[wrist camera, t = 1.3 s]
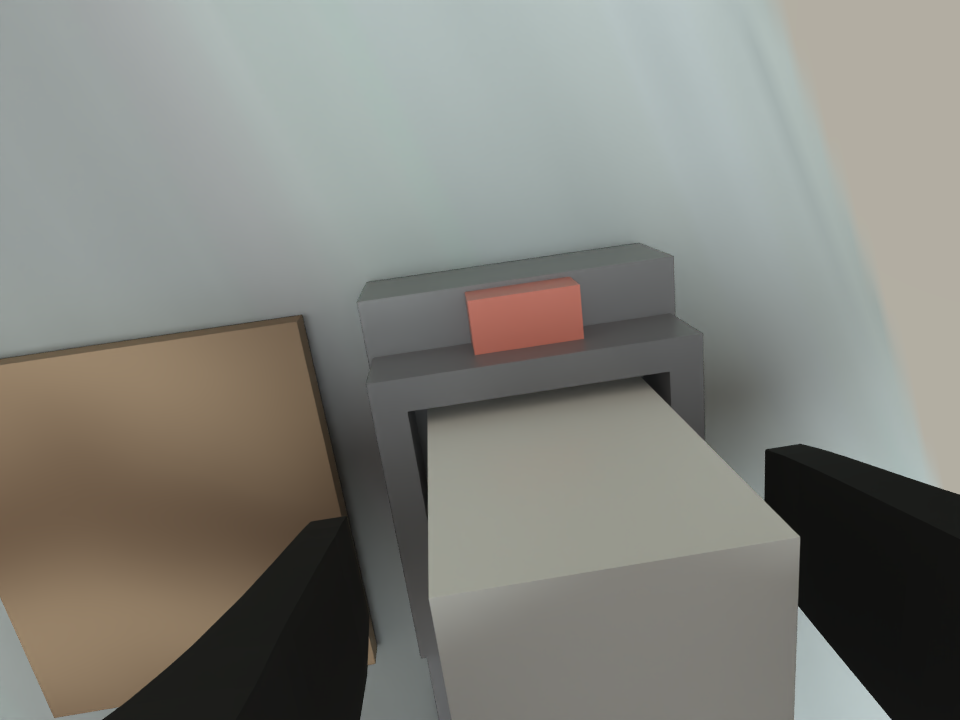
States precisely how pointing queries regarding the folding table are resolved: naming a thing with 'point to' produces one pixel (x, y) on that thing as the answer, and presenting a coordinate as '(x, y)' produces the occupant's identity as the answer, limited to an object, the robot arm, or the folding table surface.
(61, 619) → the walnut board
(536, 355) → the power strip
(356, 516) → the folding table surface
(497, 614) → the block
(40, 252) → the folding table surface
